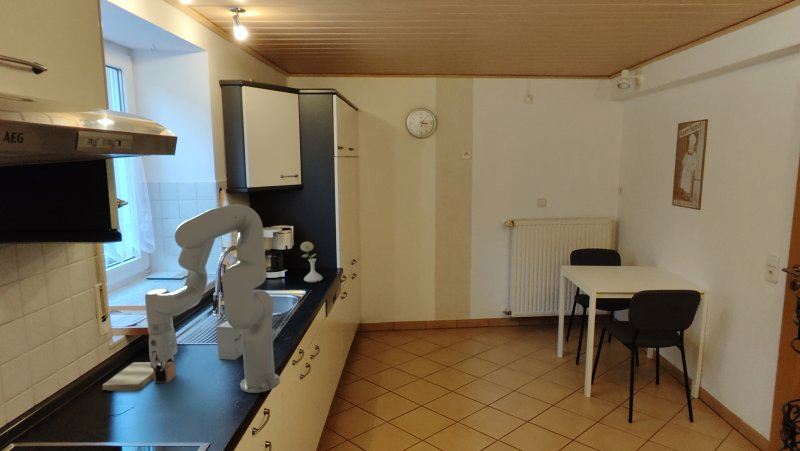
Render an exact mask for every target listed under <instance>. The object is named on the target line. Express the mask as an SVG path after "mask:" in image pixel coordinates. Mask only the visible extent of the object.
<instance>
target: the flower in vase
mask: <svg viewBox="0 0 800 451" xmlns="http://www.w3.org/2000/svg"><path fill="white" fill-rule="evenodd" d="M313 249H314V244H313V243H312V242H310V241H304V242H302V243H301V244H300V250H301V251H302V252H306V253H304V254H303V255H301V257H302V258H308V259H307V260H308V261H309V262H308V263H310V271H309V273H307V275H305V276H304V278H303V280H304V282H307V283H317V281H318V282H320V281H322V280H323V276H322V275H321V274H320V273H318V272H317V271H316V268H315V265H316V261H317V258H313V257H315V256H316V255H317V253H314V254H312V255H311V256H310V255H309V252H310V251H312V250H313Z"/></svg>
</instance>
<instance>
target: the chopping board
mask: <svg viewBox="0 0 800 451" xmlns="http://www.w3.org/2000/svg"><path fill="white" fill-rule="evenodd" d="M150 363H151V361H150V362H149V361H145V362H144V361H143V362H141V361H140V362H139V361H138V362H132V363H131V364H129V365H128V366H126V367H125V368H124V369H122V370H121V371H120V372H118V373H117V374H115V375H114V376H112V377H111V378H110V379H108V380H107V381H106V382H104V383H103V384H102V391H103V390H107V391H140V390H142V388H144V387H145V386H147V384H149V382H151V381H152V380H154V372H153V368H151V367H150ZM158 364H159V363H158Z"/></svg>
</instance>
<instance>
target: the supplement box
mask: <svg viewBox="0 0 800 451" xmlns="http://www.w3.org/2000/svg"><path fill="white" fill-rule="evenodd" d="M215 330H216V340H217V355H218V356H217V357H218V359H219V360H229V361H231V360H232V361H233V360H234V361H236V360H237V359H238V358H240V357H241V356H243V347H242V330H236V329H234V328H233V327H231V326H230V324H229V323H228V321H227V320H225V321H224V322H223V323H221V324H219V325H217V326H216V329H215Z"/></svg>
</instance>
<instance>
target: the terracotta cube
mask: <svg viewBox="0 0 800 451" xmlns="http://www.w3.org/2000/svg"><path fill="white" fill-rule="evenodd" d="M158 365H159V366H161V363H159V364H158ZM164 370H165V374H166V381H165V382H164V383H170V382H171V381H172V380H173V379H174V378H176V377H177V366H176V361H174V362H164ZM153 372H154V378H153V381H154V383H157V382H156V377H155V371H154V369H153Z"/></svg>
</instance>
